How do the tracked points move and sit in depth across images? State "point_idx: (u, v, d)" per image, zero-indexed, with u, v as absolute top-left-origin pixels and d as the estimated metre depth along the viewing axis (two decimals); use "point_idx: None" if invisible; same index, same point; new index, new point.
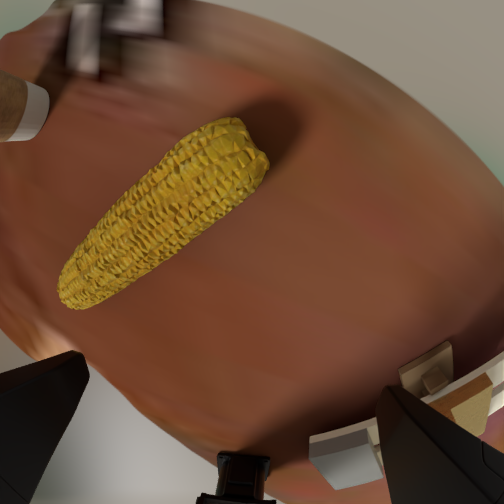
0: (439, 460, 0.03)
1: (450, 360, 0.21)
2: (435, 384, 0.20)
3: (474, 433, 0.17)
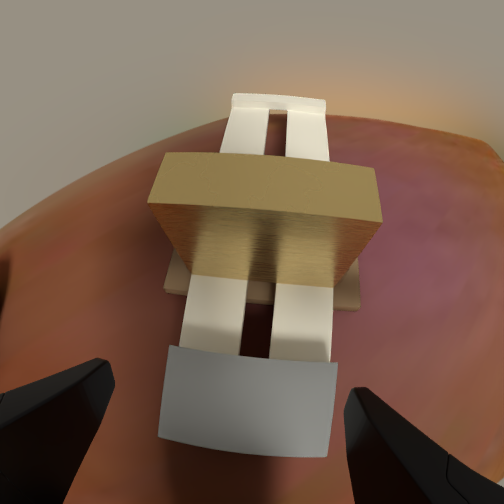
0: (397, 471, 0.03)
1: None
2: None
3: None
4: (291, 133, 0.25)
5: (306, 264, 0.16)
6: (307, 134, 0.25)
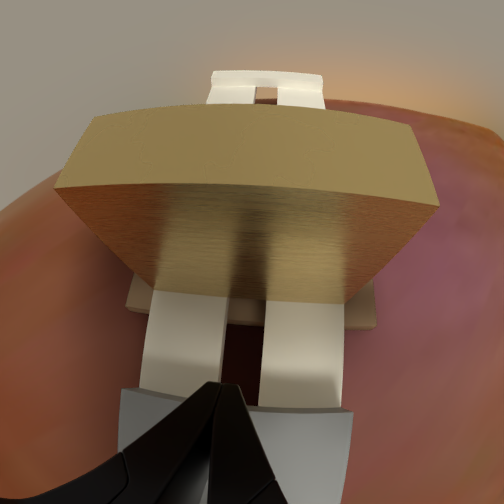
0: (209, 477, 0.03)
1: None
2: None
3: None
4: None
5: (308, 276, 0.10)
6: None
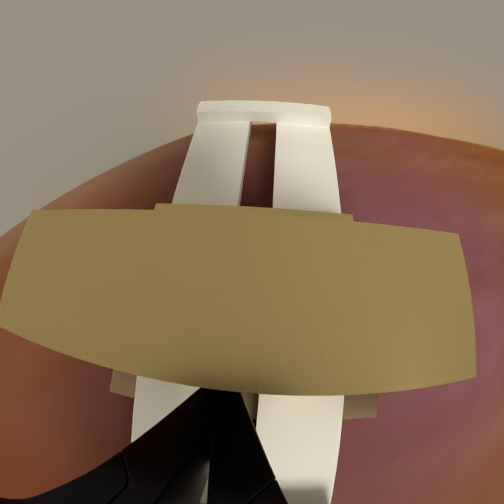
0: None
1: None
2: None
3: None
4: (282, 158, 0.17)
5: None
6: (305, 159, 0.17)
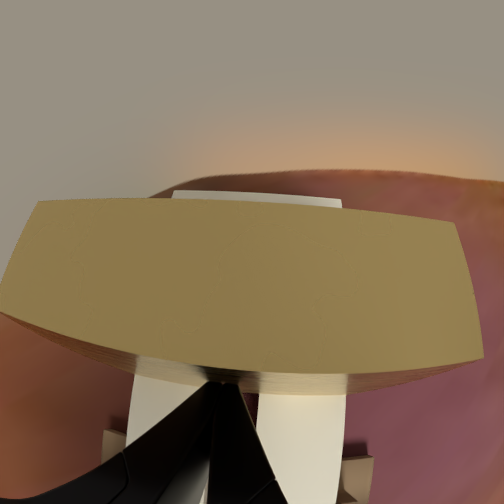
0: (209, 477, 0.03)
1: None
2: None
3: None
4: None
5: (307, 391, 0.08)
6: None
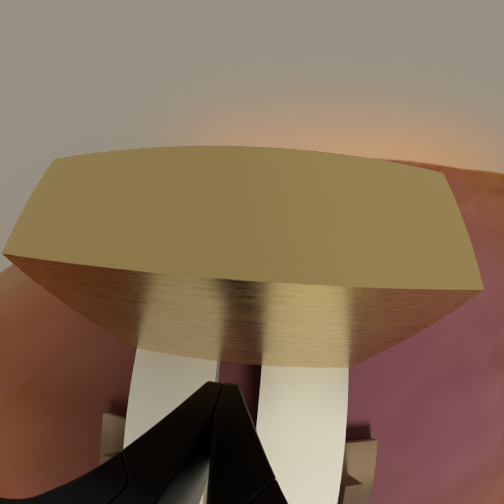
0: None
1: None
2: None
3: None
4: None
5: (310, 352, 0.08)
6: None
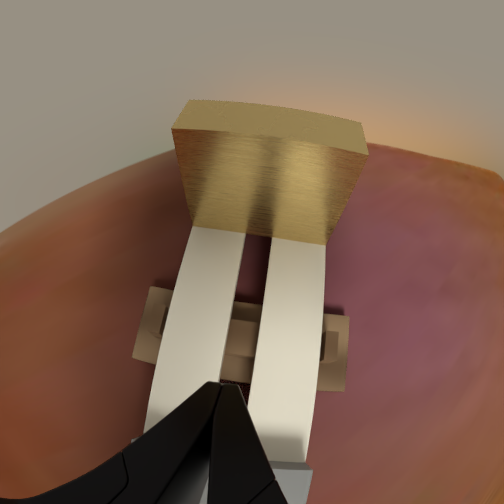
0: (209, 477, 0.03)
1: None
2: (150, 322, 0.18)
3: None
4: None
5: (302, 208, 0.17)
6: None
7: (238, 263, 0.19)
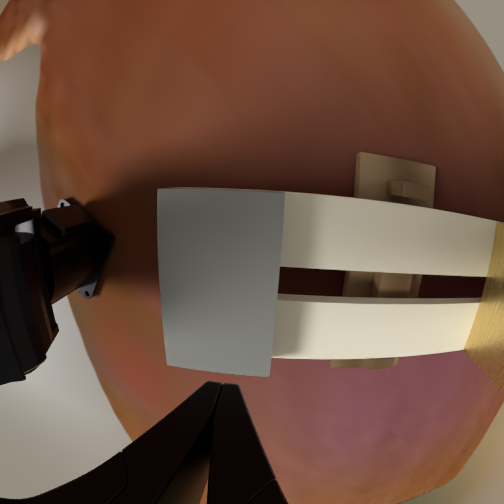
0: (209, 477, 0.03)
1: (430, 194, 0.16)
2: None
3: None
4: None
5: (501, 345, 0.11)
6: None
7: (464, 274, 0.14)
